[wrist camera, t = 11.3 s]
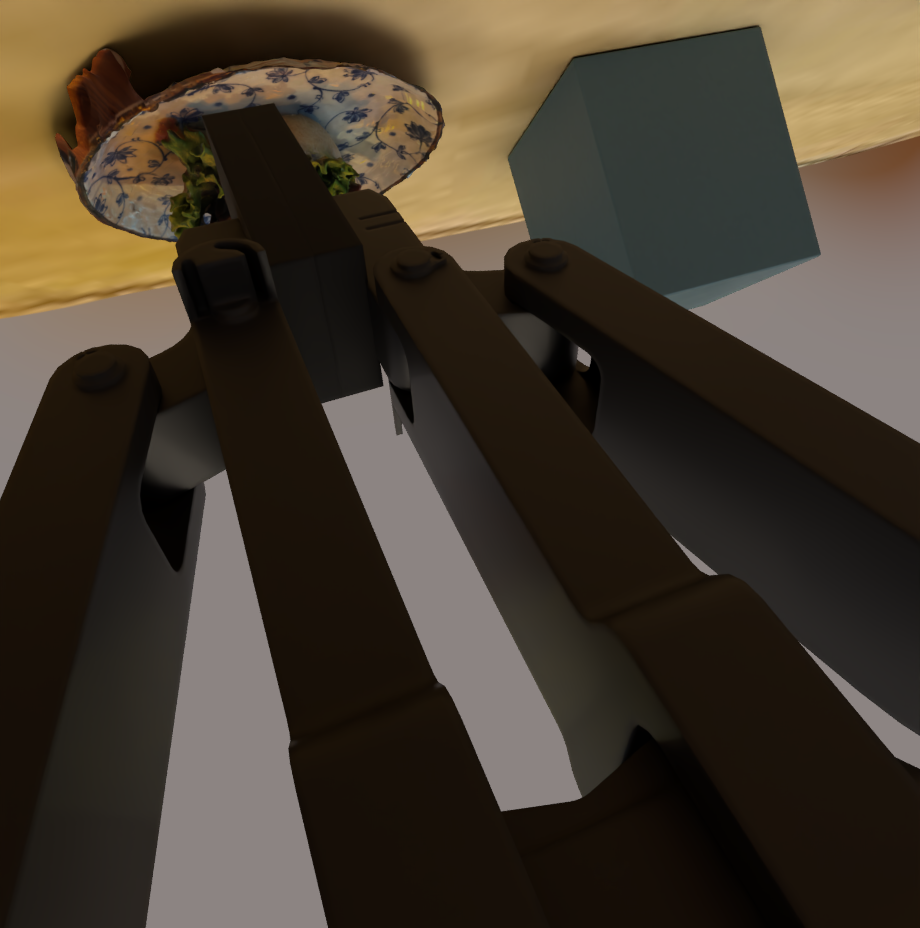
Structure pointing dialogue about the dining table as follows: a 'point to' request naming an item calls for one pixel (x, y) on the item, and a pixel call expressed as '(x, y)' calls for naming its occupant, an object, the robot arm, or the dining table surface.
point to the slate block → (670, 167)
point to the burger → (241, 86)
